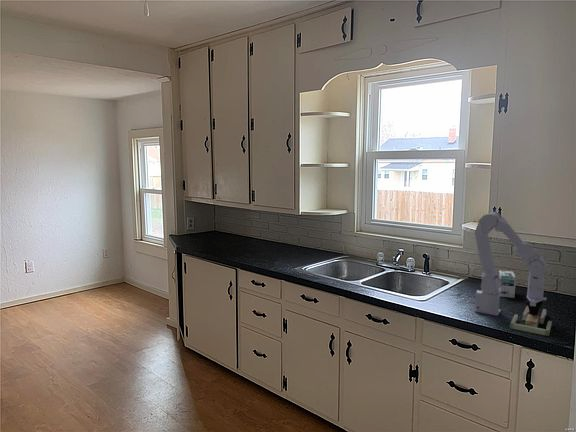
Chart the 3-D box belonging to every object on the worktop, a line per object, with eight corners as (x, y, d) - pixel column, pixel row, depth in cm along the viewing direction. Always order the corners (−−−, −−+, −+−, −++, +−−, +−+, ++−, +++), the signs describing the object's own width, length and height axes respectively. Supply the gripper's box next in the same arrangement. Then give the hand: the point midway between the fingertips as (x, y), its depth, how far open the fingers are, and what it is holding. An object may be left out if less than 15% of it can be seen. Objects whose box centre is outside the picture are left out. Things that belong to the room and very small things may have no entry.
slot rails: (522, 319, 180) (522, 314, 180) (526, 311, 190) (526, 305, 190) (543, 324, 176) (543, 318, 176) (545, 314, 186) (546, 309, 185)
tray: (509, 328, 172) (510, 323, 172) (514, 318, 182) (514, 314, 181) (548, 336, 165) (549, 331, 164) (551, 326, 174) (551, 321, 174)
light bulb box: (514, 298, 207) (516, 276, 205) (499, 296, 209) (500, 275, 208) (512, 291, 217) (513, 271, 215) (497, 290, 219) (498, 269, 218)
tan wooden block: (525, 327, 173) (525, 320, 173) (526, 324, 176) (526, 317, 176) (536, 329, 171) (536, 322, 170) (537, 326, 174) (538, 319, 174)
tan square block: (526, 323, 176) (526, 316, 176) (527, 320, 180) (528, 313, 179) (537, 326, 174) (538, 319, 174) (538, 322, 177) (539, 316, 177)
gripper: (545, 292, 169) (542, 325, 171) (548, 283, 181) (545, 314, 183) (525, 289, 173) (522, 321, 175) (529, 280, 185) (527, 310, 187)
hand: (533, 317), depth 179 cm, fingers closed
